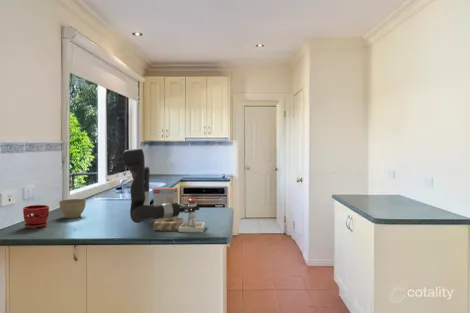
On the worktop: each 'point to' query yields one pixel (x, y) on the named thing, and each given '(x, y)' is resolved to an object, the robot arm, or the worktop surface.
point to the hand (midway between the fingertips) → (194, 206)
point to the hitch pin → (192, 213)
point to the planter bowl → (72, 207)
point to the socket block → (168, 223)
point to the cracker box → (165, 196)
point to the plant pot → (36, 215)
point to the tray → (198, 228)
